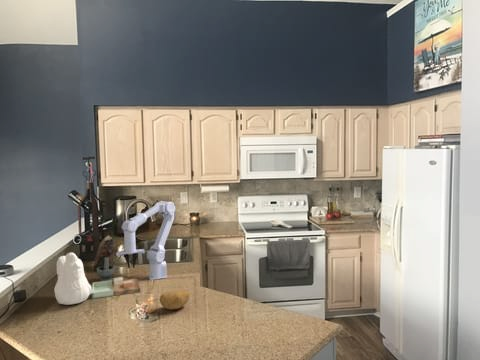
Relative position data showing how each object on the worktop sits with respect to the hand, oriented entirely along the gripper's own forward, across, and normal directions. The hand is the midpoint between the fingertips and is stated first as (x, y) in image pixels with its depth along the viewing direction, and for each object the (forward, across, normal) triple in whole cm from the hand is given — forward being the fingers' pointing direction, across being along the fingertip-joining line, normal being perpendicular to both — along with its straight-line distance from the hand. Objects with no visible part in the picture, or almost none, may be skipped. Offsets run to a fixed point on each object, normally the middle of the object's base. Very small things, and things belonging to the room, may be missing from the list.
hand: (131, 267), depth 207 cm
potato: (+10, -16, +42) cm, 46 cm away
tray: (+9, +15, +6) cm, 19 cm away
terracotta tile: (+7, +2, +8) cm, 11 cm away
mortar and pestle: (+10, +13, -15) cm, 22 cm away
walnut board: (+9, +4, +6) cm, 11 cm away
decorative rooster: (+10, +29, +11) cm, 32 cm away
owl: (+10, +14, -38) cm, 42 cm away
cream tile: (+7, +7, 0) cm, 10 cm away
